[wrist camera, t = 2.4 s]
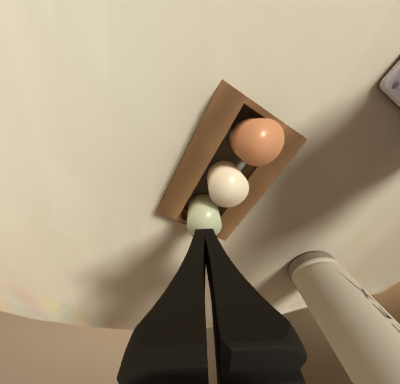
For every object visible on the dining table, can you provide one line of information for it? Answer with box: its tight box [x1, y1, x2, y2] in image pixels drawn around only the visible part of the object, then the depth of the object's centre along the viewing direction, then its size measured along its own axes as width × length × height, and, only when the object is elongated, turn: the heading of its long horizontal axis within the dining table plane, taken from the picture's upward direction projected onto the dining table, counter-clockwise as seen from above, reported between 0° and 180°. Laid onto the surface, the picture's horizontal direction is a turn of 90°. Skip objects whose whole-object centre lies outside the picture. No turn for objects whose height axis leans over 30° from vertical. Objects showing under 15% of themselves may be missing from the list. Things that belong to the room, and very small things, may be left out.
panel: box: [157, 80, 307, 240], centre depth 14 cm, size 8×12×2 cm, turn 152°
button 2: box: [229, 118, 285, 166], centre depth 11 cm, size 3×3×3 cm
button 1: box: [187, 194, 222, 236], centre depth 14 cm, size 3×3×3 cm
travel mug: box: [288, 251, 400, 384], centre depth 12 cm, size 6×7×20 cm
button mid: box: [207, 161, 249, 207], centre depth 12 cm, size 3×3×3 cm
